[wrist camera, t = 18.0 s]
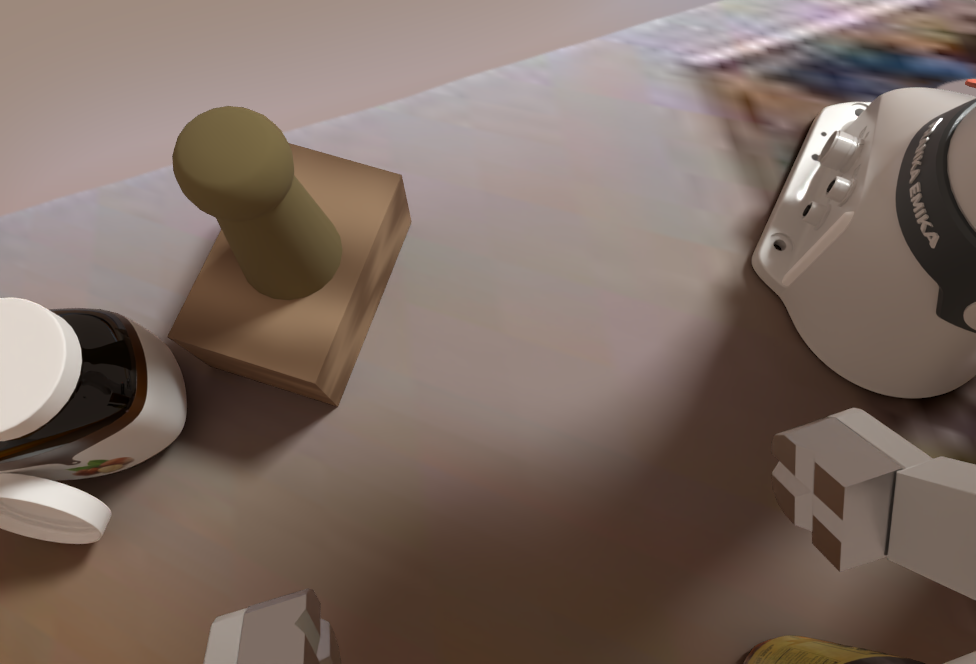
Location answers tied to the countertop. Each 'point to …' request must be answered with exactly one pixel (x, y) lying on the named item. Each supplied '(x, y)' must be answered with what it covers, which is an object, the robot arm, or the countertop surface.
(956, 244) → the robot arm
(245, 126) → the cork
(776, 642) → the sauce bottle
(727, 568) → the countertop surface
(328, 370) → the wooden block
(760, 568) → the countertop surface
